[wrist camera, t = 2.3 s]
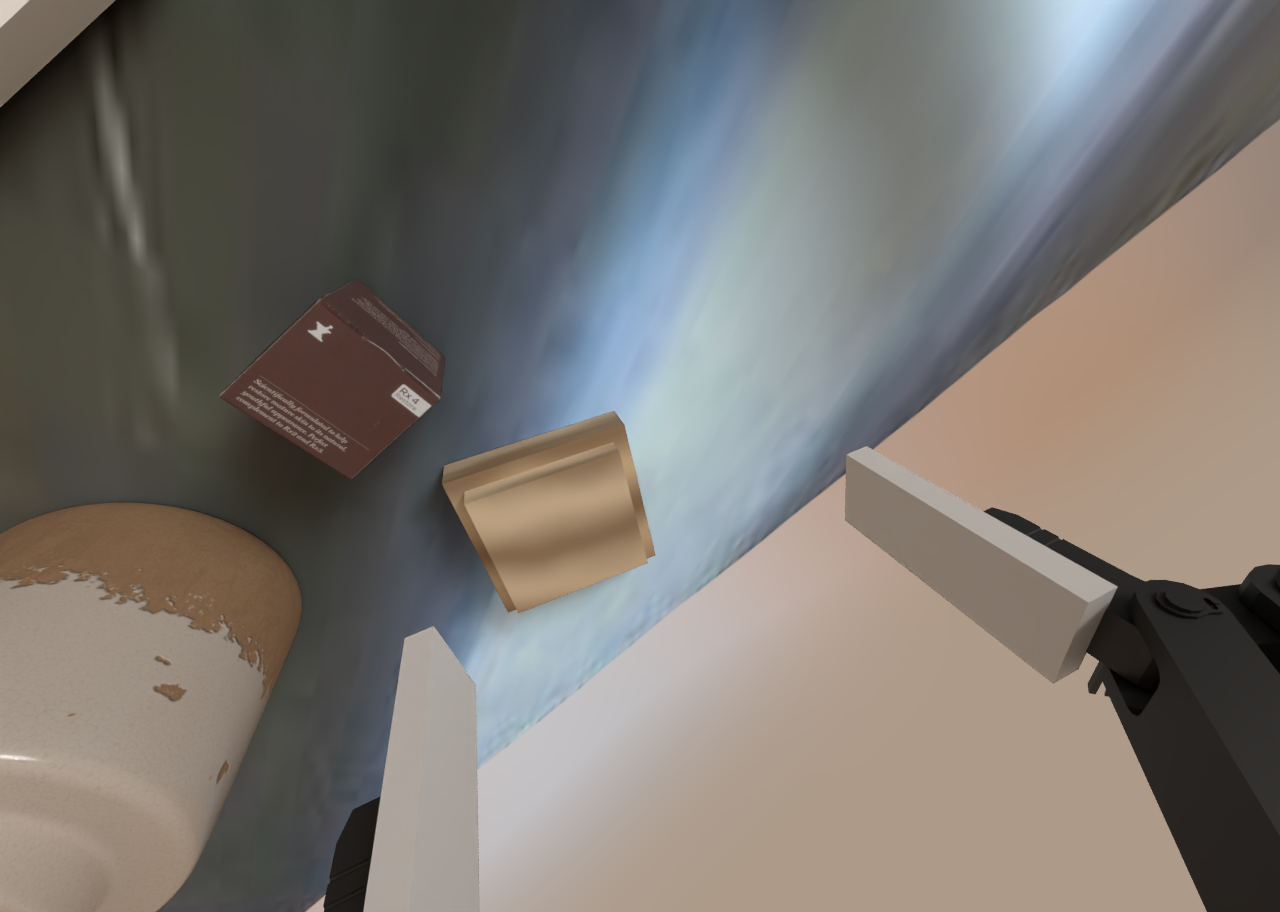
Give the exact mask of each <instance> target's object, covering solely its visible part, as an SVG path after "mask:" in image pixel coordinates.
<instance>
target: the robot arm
mask: <svg viewBox="0 0 1280 912" xmlns="http://www.w3.org/2000/svg"><path fill="white" fill-rule="evenodd" d="M845 500H846V501H845V520H846V521H847V522H848V523H849V524H851V525H852V526H853V527H854V528H856V529H857V530H858V531H860V532H861V533H862V534H863V535H865V536H866V537H867V538H868V539H870V540H871V541H872V542H874V543H875V544H876V545H878V546H879V547H880V548H881V549H882V550H884V551H885V552H886V553H888V554H889V555H890V556H891V557H893V558H894V559H895V560H896V561H898V562H899V563H900V564H902V565H903V566H904V567H905V568H907V569H908V570H909V571H910V572H912V573H913V574H914V575H916V576H917V577H918V578H920V579H921V580H922V581H923V582H924V583H926V584H927V585H928V586H930V587H931V588H932V589H933V590H935V591H936V592H937V593H939V594H940V595H941V596H942V597H943V598H945V599H946V600H947V601H949V602H950V603H951V604H952V605H954V606H955V607H956V608H957V609H959V610H960V611H961V612H963V613H964V614H965V615H966V616H968V617H969V618H970V619H971V620H973V621H974V622H975V623H977V624H978V625H979V626H980V627H982V628H983V629H984V630H985V631H987V632H988V633H989V634H990V635H992V636H993V637H995V638H996V639H997V640H998V641H1000V642H1001V643H1002V644H1003V645H1004V646H1006V647H1007V648H1008V649H1010V650H1011V651H1012V652H1013V653H1015V654H1016V655H1017V656H1019V657H1020V658H1021V659H1022V660H1024V661H1025V662H1026V663H1027V664H1029V665H1030V666H1031V667H1032V668H1034V669H1035V670H1037V671H1038V672H1039V673H1040V674H1041V675H1043V676H1044V677H1045V678H1046V679H1048V680H1049V681H1050V682H1052V683H1055V682H1057V681H1058V680H1060V679H1062V678H1063V677H1065V676H1067V675H1069V674H1071V673H1072V672H1074V671H1076V670H1078V669H1079V667H1080V665H1081V663H1082V661H1083V658H1084V656H1085V654H1086V652H1087V653H1089V654H1090V655H1091V656H1093V657H1095V658H1096V659H1097V660H1099V663H1098V665H1097V667H1096V669H1095V671H1094V673H1093V674H1092V676H1091V679H1090V680H1089V682H1088V690H1089V693H1091V694H1096V692H1097V691H1098V689H1099V687H1100V685H1101V683H1102V681H1103V683H1104V685H1105V688H1106V691H1105V696H1109V697H1110V698H1111V701H1112V703H1113V705H1114V708H1115V710H1116V712H1117V714H1118V716H1119V719H1120V721H1121V723H1122V725H1123V727H1124V730H1125V732H1126V734H1127V736H1128V739H1129V741H1130V743H1131V745H1132V747H1133V749H1134V752H1135V754H1136V756H1137V758H1138V761H1139V763H1140V765H1141V767H1142V769H1143V772H1144V774H1145V776H1146V778H1147V781H1148V783H1149V785H1150V787H1151V789H1152V791H1153V794H1154V796H1155V798H1156V800H1157V803H1158V805H1159V807H1160V809H1161V811H1162V813H1163V815H1164V818H1165V820H1166V822H1167V825H1168V827H1169V829H1170V831H1171V833H1172V835H1173V837H1174V840H1175V842H1176V844H1177V847H1178V849H1179V851H1180V853H1181V855H1182V858H1183V860H1184V862H1185V864H1186V867H1187V869H1188V871H1189V873H1190V875H1191V878H1192V880H1193V882H1194V884H1195V886H1196V889H1197V891H1198V893H1199V895H1200V897H1201V900H1202V902H1203V904H1204V906H1205V908H1206V911H1207V912H1280V565H1263V566H1258V567H1255V568H1254V569H1253V570H1252V571H1251V572H1250V573H1249V574H1248V576H1247V577H1246V578H1245V580H1244V581H1243V583H1242V584H1239V585H1231V586H1223V587H1215V588H1207V589H1197V588H1194V587H1192V586H1189V585H1186V584H1184V583H1179V582H1173V581H1168V580H1149V581H1146V582H1145V581H1142V580H1140V579H1138V578H1136V577H1134V576H1132V575H1130V574H1128V573H1126V572H1124V571H1122V570H1120V569H1118V568H1116V567H1115V566H1113V565H1111V564H1109V563H1107V562H1105V561H1103V560H1101V559H1100V558H1098V557H1096V556H1094V555H1092V554H1090V553H1088V552H1086V551H1084V550H1083V549H1081V548H1079V547H1077V546H1075V545H1073V544H1071V543H1069V542H1068V541H1065V540H1064V539H1063V540H1060V539H1059V538H1058V536H1056V535H1054V534H1052V533H1051V532H1049V531H1047V530H1045V529H1044V530H1042V529H1041V528H1040V527H1039V526H1037V525H1036V524H1034V523H1032V522H1030V521H1028V520H1026V519H1024V518H1022V517H1020V516H1018V515H1016V514H1013V513H1009V512H1006V511H1002V510H999V509H996V508H990V509H988V510H986V511H981V510H980V509H978V508H976V507H974V506H972V505H971V504H969V503H967V502H965V501H964V500H962V499H960V498H958V497H956V496H955V495H953V494H951V493H949V492H947V491H946V490H944V489H942V488H940V487H938V486H937V485H935V484H933V483H931V482H930V481H928V480H926V479H924V478H922V477H921V476H919V475H917V474H915V473H913V472H912V471H910V470H908V469H906V468H904V467H903V466H901V465H899V464H897V463H896V462H894V461H892V460H890V459H888V458H886V457H885V456H883V455H881V454H879V453H878V452H876V451H874V450H872V449H871V448H869V447H867V446H866V447H863V448H861V449H858V450H856V451H854V452H851V453H849V454H846V499H845ZM477 796H478V795H477V737H476V685H475V683H474V682H473V680H472V679H471V678H470V676H469V675H468V673H467V672H466V671H465V669H464V668H463V666H462V665H461V664H460V662H459V661H458V659H457V658H456V657H455V655H454V654H453V653H452V651H451V650H450V648H449V647H448V646H447V644H446V643H445V641H444V640H443V639H442V637H441V636H440V634H439V633H438V632H437V630H436V629H435V627H434V626H433V627H430V628H428V629H426V630H423V631H421V632H418V633H416V634H414V635H411V636H409V637H406V638H405V639H404V646H403V653H402V659H401V666H400V673H399V679H398V686H397V692H396V699H395V706H394V712H393V719H392V725H391V732H390V739H389V745H388V752H387V758H386V765H385V772H384V778H383V785H382V791H381V797H379V798H377V799H374V800H372V801H370V802H368V803H366V804H364V805H362V806H360V807H357V808H355V809H353V811H352V813H351V815H350V817H349V819H348V821H347V823H346V825H345V827H344V829H343V831H342V833H341V835H340V837H339V840H338V842H337V844H336V849H335V853H334V858H333V863H332V868H331V872H330V877H329V878H330V884H328V887H327V891H326V896H325V901H324V912H479V911H480V909H479V855H478V854H479V852H478V797H477Z"/></svg>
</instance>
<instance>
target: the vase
mask: <svg viewBox="0 0 1280 912" xmlns="http://www.w3.org/2000/svg"><path fill="white" fill-rule="evenodd" d="M301 613H302V598H301V592H300V589H299V585H298V583H297V580H296V578H295V576H294V574H293V572H292V571H291V569H290V568H289V566H288V565H287V564H286V562H285V561H284V560H283V559H282V558H281V557H280V556H279V555H278V554H277V553H276V552H275V551H274V550H273V549H272V548H271V547H269V546H268V545H267V544H266V543H264V542H263V541H262V540H260V539H259V538H257V537H255V536H254V535H252V534H251V533H249V532H247V531H245V530H243V529H242V528H239V527H237V526H235V525H233V524H231V523H229V522H226V521H224V520H221V519H218V518H216V517H213V516H210V515H207V514H203V513H200V512H196V511H192V510H188V509H184V508H178V507H173V506H167V505H159V504H150V503H133V502H114V503H98V504H90V505H83V506H77V507H71V508H67V509H62V510H58V511H54V512H50V513H47V514H44V515H41V516H38V517H35V518H33V519H30V520H28V521H25V522H23V523H21V524H19V525H17V526H15V527H12V528H10V529H9V530H7V531H5V532H3V533H1V534H0V912H156V911H157V910H158V909H160V908H161V907H162V906H163V905H164V904H165V903H166V902H168V901H169V900H170V899H171V898H172V897H173V896H174V895H175V894H176V892H177V891H178V890H179V889H180V888H181V886H182V885H183V884H184V882H185V881H186V880H187V878H188V877H189V876H190V874H191V872H192V871H193V869H194V868H195V866H196V864H197V862H198V860H199V858H200V856H201V854H202V852H203V850H204V848H205V846H206V844H207V841H208V839H209V837H210V835H211V832H212V830H213V828H214V826H215V823H216V821H217V819H218V816H219V814H220V812H221V809H222V807H223V805H224V802H225V800H226V798H227V795H228V793H229V791H230V788H231V786H232V783H233V781H234V779H235V776H236V774H237V772H238V769H239V767H240V765H241V762H242V760H243V758H244V755H245V753H246V751H247V748H248V746H249V743H250V741H251V739H252V736H253V734H254V732H255V729H256V727H257V725H258V722H259V720H260V718H261V715H262V713H263V711H264V708H265V706H266V703H267V701H268V699H269V696H270V694H271V692H272V689H273V687H274V685H275V682H276V680H277V678H278V675H279V673H280V670H281V668H282V666H283V663H284V661H285V659H286V656H287V654H288V652H289V649H290V647H291V645H292V642H293V640H294V637H295V635H296V632H297V629H298V626H299V623H300V618H301Z"/></svg>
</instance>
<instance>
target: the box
mask: <svg viewBox="0 0 1280 912" xmlns="http://www.w3.org/2000/svg"><path fill="white" fill-rule="evenodd" d="M444 367H445V357H444V356H443V354H441V353H440V352H439V351H438V350H437V349H436V348H435V347H433V346H432V345H431V344H430V343H429V342H428V341H427V340H426V339H425V338H423V337H422V336H421V335H420V334H419V333H418V332H417V331H416V330H415V329H413V328H412V327H411V326H410V325H409V324H408V323H407V322H406V321H405V320H404V319H402V318H401V317H400V316H399V315H398V314H397V313H396V312H395V311H394V310H392V309H391V308H390V307H389V306H388V305H387V304H386V303H385V302H384V301H382V300H381V299H380V298H379V297H378V296H377V295H375V294H374V293H373V292H372V291H371V290H370V289H369V288H368V287H367V286H366V285H364V284H363V283H362V282H361V281H360V280H358V279H354V280H352V281H350V282H348V283H346V284H345V285H343V286H342V287H340V288H338V289H337V290H335V291H333V292H331V293H329V294H326V295H324V296H323V297H321V298H320V299H318V300H316V301H315V302H314V303H313V304H312V305H311V306H310V307H309V308H308V309H307V310H306V311H305V312H304V313H303V314H302V315H301V316H300V317H299V318H298V319H297V320H296V321H294V322H293V323H292V324H291V325H290V326H289V327H288V328H287V329H286V330H285V331H284V332H283V333H282V334H281V335H280V336H279V337H278V338H277V339H276V340H275V341H273V342H272V343H271V344H270V345H269V346H268V347H267V348H266V349H265V350H264V351H263V352H262V353H261V354H260V355H259V356H258V357H257V358H256V359H255V360H254V361H253V362H252V363H251V364H250V365H249V366H248V367H247V368H246V369H245V370H244V371H243V372H242V373H241V374H240V375H239V376H238V377H237V378H236V379H235V380H234V381H233V382H232V383H231V384H230V385H228V387H227V388H226V389H225V390H224V391H223V392H222V393H221V394H220V395H219V396H220V397H221V398H222V399H223V400H225V401H227V402H228V403H230V404H231V405H233V406H234V407H236V408H237V409H239V410H241V411H242V412H244V413H245V414H247V415H248V416H250V417H252V418H253V419H255V420H256V421H258V422H259V423H261V424H262V425H264V426H266V427H267V428H269V429H271V430H272V431H274V432H275V433H277V434H278V435H280V436H282V437H283V438H285V439H286V440H288V441H290V442H291V443H293V444H294V445H296V446H297V447H299V448H301V449H302V450H304V451H306V452H307V453H309V454H311V455H312V456H313V457H315V458H317V459H318V460H320V461H321V462H323V463H325V464H326V465H328V466H329V467H331V468H333V469H334V470H336V471H337V472H339V473H340V474H342V475H344V476H345V477H347V478H349V479H352V478H353V477H354V476H355V475H357V474H358V473H359V472H360V471H361V470H362V469H363V468H365V467H366V466H367V465H368V464H369V463H370V462H371V461H372V460H373V459H375V458H376V457H377V456H378V455H379V454H380V453H381V452H382V451H383V450H384V449H386V448H387V447H388V446H389V445H390V444H391V443H392V442H393V441H394V440H395V439H397V438H398V437H399V436H400V435H401V434H402V433H403V432H404V431H406V430H407V429H408V428H409V427H410V426H411V425H412V424H413V423H414V422H415V421H417V420H418V419H419V418H420V417H421V416H422V415H423V414H425V413H426V412H427V411H428V410H429V409H430V408H431V407H432V406H434V405H435V404H436V403H437V402H438V401H439V400H440V399H441V391H442V381H443V374H444Z"/></svg>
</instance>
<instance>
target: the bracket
mask: <svg viewBox="0 0 1280 912" xmlns="http://www.w3.org/2000/svg"><path fill="white" fill-rule="evenodd" d="M114 1H115V0H0V107H1V106H2V105H4V104H5V103H6V102H7V101H8V100H9V99H10V98H11V97H12V96H13V95H14V94H15V93H16V92H17V91H19V90H20V89H21V88H22V87H23V86H24V85H25V84H26V83H27V82H28V81H29V80H30V79H31V78H33V77H34V76H35V75H36V74H37V73H38V72H39V71H40V70H41V69H42V68H43V67H44V66H45V65H46V64H48V63H49V62H50V61H51V60H52V59H53V58H54V57H55V56H56V55H57V54H58V53H59V52H60V51H61V50H63V49H64V48H65V47H66V46H67V45H68V44H69V43H70V42H71V41H72V40H73V39H74V38H75V37H77V36H78V35H79V34H80V33H81V32H82V31H83V30H84V29H85V28H86V27H87V26H88V25H89V24H90V23H92V22H93V21H94V20H95V19H96V18H97V17H98V16H99V15H100V14H101V13H102V12H103V11H104V10H106V9H107V8H108V7H109V6H110V5H111V4H112V3H113V2H114Z"/></svg>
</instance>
